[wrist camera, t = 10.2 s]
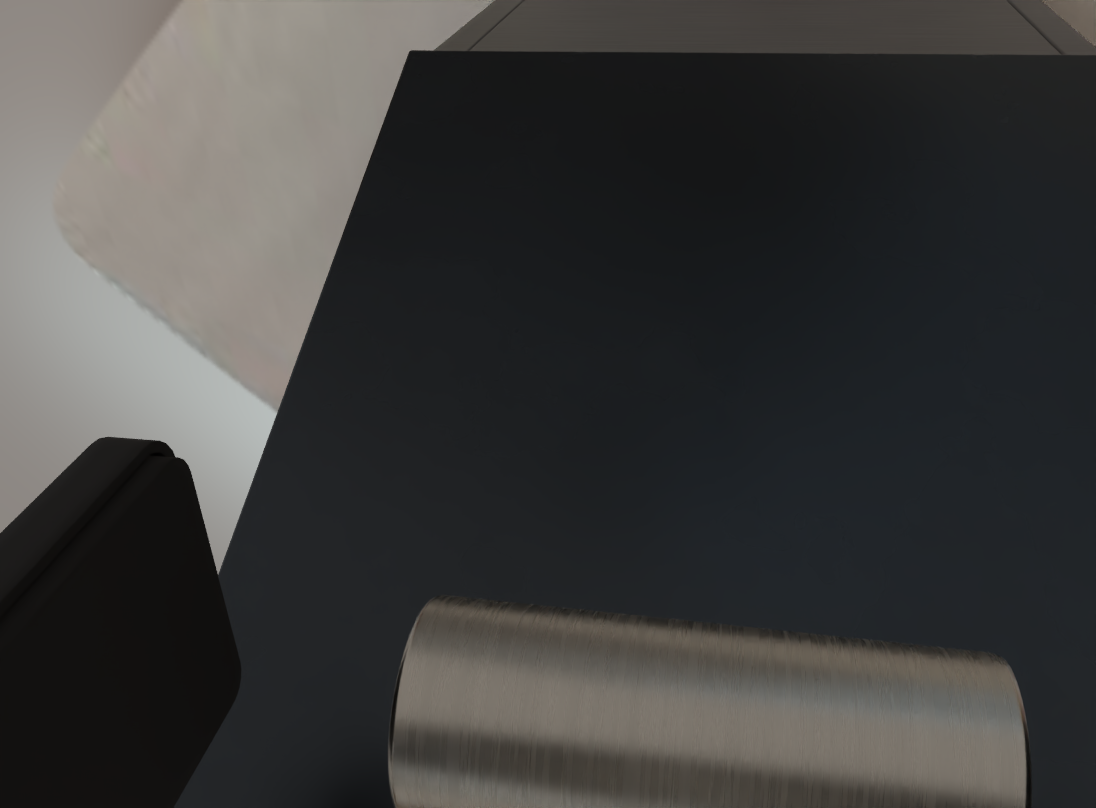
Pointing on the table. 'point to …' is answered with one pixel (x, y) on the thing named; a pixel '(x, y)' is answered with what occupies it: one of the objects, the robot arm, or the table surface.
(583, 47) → the trash bin
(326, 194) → the table surface
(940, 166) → the bin lid
